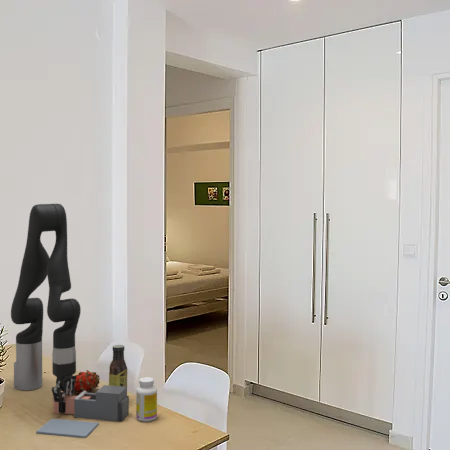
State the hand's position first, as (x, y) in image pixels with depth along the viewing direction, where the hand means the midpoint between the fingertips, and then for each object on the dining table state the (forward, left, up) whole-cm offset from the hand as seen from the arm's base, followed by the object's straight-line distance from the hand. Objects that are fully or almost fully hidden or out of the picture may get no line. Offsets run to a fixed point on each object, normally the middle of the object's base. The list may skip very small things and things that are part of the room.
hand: (64, 410), depth 189 cm
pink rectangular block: (+3, 0, 0) cm, 3 cm away
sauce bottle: (+14, +12, -1) cm, 19 cm away
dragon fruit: (-1, +18, -1) cm, 19 cm away
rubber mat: (+7, -12, -1) cm, 14 cm away
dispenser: (+13, 0, -1) cm, 13 cm away
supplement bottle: (+28, +1, -1) cm, 28 cm away
